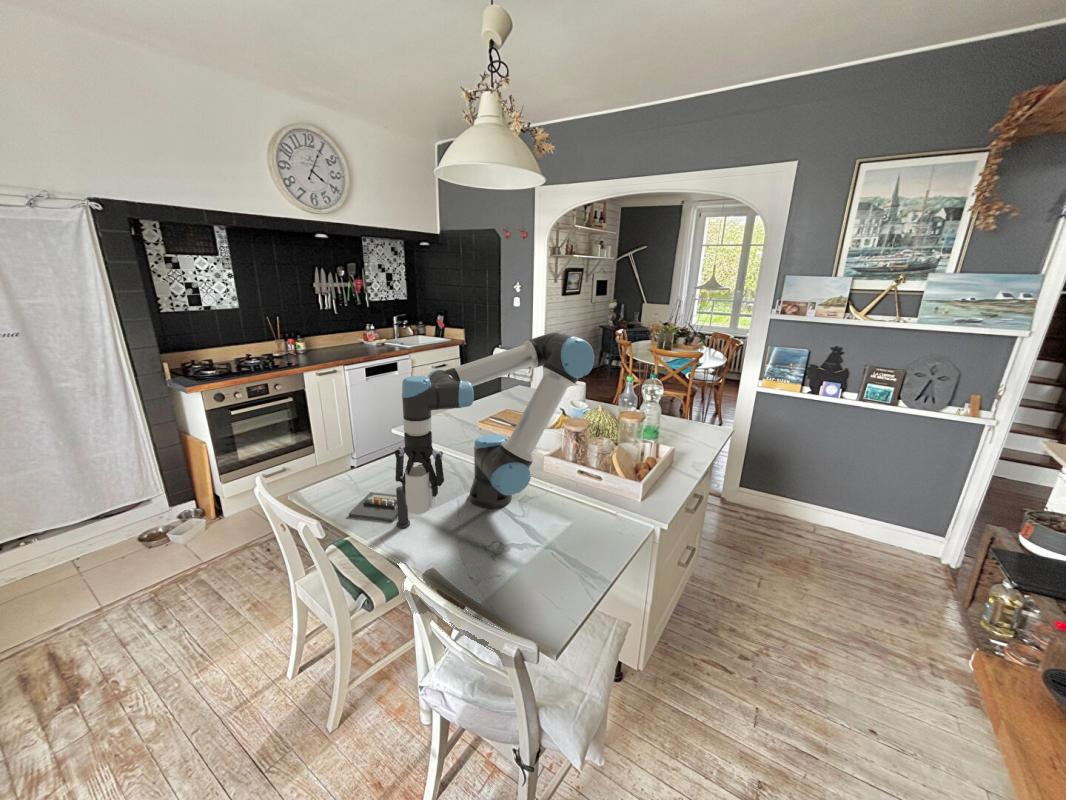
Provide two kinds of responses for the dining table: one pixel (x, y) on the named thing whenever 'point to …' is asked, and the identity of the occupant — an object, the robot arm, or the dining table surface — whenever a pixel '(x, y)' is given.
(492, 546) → the dining table surface
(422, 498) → the mug
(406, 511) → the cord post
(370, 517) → the breaker panel
